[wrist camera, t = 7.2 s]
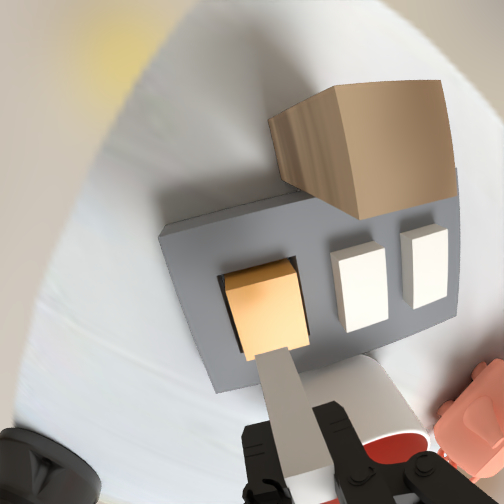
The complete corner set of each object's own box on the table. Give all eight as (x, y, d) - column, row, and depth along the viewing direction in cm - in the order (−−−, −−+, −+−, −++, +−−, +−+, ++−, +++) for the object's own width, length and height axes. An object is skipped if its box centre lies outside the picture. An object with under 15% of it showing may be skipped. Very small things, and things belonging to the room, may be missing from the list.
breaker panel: (215, 368, 25) (216, 407, 20) (165, 225, 21) (153, 245, 16) (437, 300, 25) (466, 324, 21) (432, 163, 21) (470, 170, 17)
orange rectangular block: (242, 333, 22) (246, 361, 19) (223, 269, 21) (225, 291, 18) (297, 318, 22) (309, 344, 19) (284, 253, 21) (296, 272, 18)
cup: (272, 430, 28) (291, 515, 18) (283, 349, 25) (315, 446, 15) (365, 418, 29) (402, 490, 19) (392, 341, 26) (452, 414, 16)
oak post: (281, 179, 21) (359, 220, 9) (267, 119, 19) (333, 85, 8) (338, 167, 21) (457, 195, 9) (326, 109, 19) (440, 80, 8)
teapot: (435, 370, 28) (500, 449, 16) (525, 329, 29) (586, 378, 17) (409, 450, 33) (447, 518, 21) (494, 409, 34) (536, 458, 22)
